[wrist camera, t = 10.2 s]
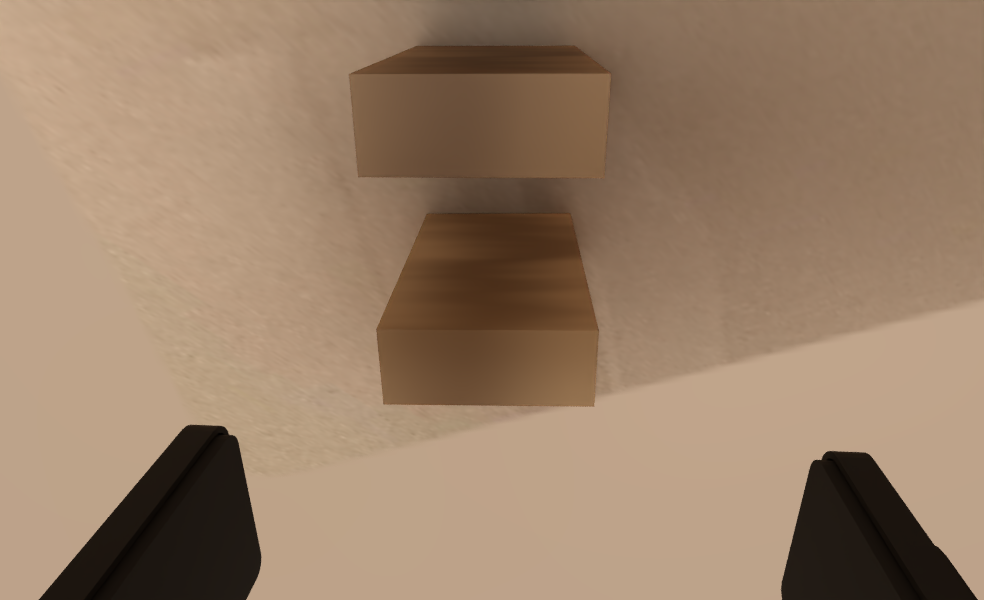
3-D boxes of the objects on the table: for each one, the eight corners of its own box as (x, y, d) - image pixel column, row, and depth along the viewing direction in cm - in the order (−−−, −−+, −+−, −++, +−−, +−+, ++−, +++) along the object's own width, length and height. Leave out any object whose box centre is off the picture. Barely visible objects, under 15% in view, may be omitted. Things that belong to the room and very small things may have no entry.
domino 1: (574, 45, 21) (610, 73, 12) (571, 111, 21) (604, 178, 13) (416, 46, 21) (349, 74, 13) (419, 111, 22) (357, 177, 13)
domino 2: (570, 213, 23) (598, 330, 15) (568, 266, 24) (593, 406, 15) (427, 213, 23) (376, 329, 15) (430, 266, 24) (383, 403, 16)
